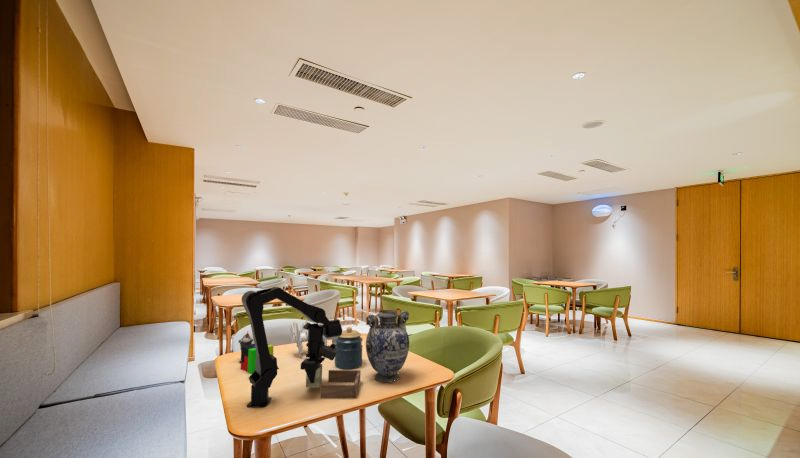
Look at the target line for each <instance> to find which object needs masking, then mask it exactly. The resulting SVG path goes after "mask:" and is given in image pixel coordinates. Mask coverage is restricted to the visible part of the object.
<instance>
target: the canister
mask: <svg viewBox="0 0 800 458" xmlns="http://www.w3.org/2000/svg"><path fill="white" fill-rule="evenodd" d="M361 335H362V333H361V332H359V331H358V330H356V329H353V328H352V327H351V326H348V327H346V329H345V330H342V334H341V336H338V338H336V339H335V341H336V349H337V353H336V356H335V358H334V366H335V368H337V369H339V370H341V369H342V370H355V369H358V368H360V367H361V366H362V365H363V364H362V363H363V344H362V342H363V337H361Z"/></svg>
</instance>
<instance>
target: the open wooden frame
mask: <svg viewBox="0 0 800 458" xmlns="http://www.w3.org/2000/svg"><path fill="white" fill-rule="evenodd" d="M327 376H328V378H327V379H328V380H327V381H328V383H354V384H321V385H320V398H319V399H357V396H358V393H359V388H360V383H361V370H360V369H358V370H357V369H342V370H341V369H329V370H328V375H327Z"/></svg>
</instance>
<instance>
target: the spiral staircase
mask: <svg viewBox="0 0 800 458" xmlns="http://www.w3.org/2000/svg"><path fill="white" fill-rule="evenodd" d="M327 318H328V320H331V318H330V317H327ZM308 320H309V319H308ZM308 320H305V321H303V322H302V326H301V327H300V325H299V323H298V322H296V320H294V321H293V322H291V324H290V327H289V328H290V329H289V330H290V334H291V343H295V344H296V347H297V349H298V355H299V357H302V354H303V348H304V345H303V343H304V342H308V330H306V329H304V328H303V326H304V325H306V323H307V322H308V323H310V322H309V321H308ZM313 324H315V322H313ZM317 324H318V325H323V324H321V323H317ZM301 328H302V330H301ZM336 338H338V336H337V337H331V338H326V337H325V336H324V335H323V341H324V342H325V345H326V346H328V341H330V340H331V344H332V343H333V344H335V345H336V341H335V339H336Z"/></svg>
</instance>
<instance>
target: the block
mask: <svg viewBox="0 0 800 458" xmlns="http://www.w3.org/2000/svg"><path fill="white" fill-rule="evenodd" d="M319 365H320V367H319V368H318V369H317V370H316V375H315V380H314V383H311V382H310V380H309V378H308V376H307V374H305V388H320V387H321V385H322V382H323V364H322V363H321V364H319Z"/></svg>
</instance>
